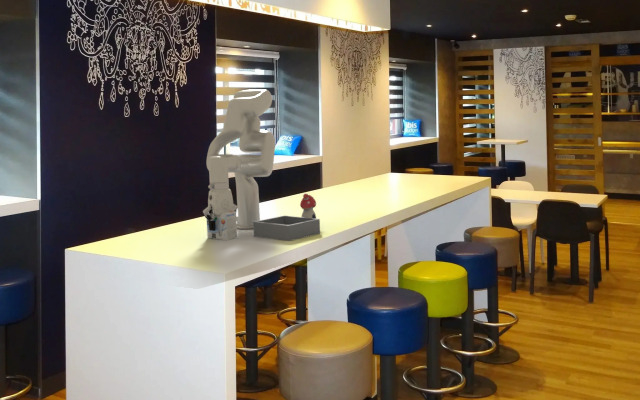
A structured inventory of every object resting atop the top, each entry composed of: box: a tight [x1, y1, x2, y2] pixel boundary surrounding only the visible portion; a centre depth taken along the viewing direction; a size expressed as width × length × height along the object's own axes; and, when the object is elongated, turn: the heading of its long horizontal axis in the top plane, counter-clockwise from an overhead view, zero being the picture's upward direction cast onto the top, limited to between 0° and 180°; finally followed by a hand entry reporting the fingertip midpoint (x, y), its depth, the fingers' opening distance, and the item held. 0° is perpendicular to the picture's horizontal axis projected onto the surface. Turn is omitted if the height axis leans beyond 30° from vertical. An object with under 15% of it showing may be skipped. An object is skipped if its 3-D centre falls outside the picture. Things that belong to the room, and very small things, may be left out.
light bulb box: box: [206, 211, 238, 241], centre depth 283 cm, size 11×7×11 cm, turn 58°
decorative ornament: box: [299, 193, 317, 219], centre depth 299 cm, size 9×7×15 cm
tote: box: [253, 214, 321, 242], centre depth 284 cm, size 20×18×6 cm
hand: (221, 228), depth 283 cm, fingers open, 9 cm apart
